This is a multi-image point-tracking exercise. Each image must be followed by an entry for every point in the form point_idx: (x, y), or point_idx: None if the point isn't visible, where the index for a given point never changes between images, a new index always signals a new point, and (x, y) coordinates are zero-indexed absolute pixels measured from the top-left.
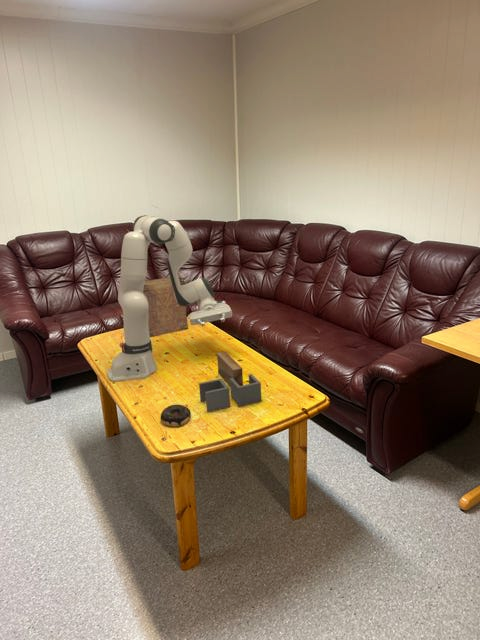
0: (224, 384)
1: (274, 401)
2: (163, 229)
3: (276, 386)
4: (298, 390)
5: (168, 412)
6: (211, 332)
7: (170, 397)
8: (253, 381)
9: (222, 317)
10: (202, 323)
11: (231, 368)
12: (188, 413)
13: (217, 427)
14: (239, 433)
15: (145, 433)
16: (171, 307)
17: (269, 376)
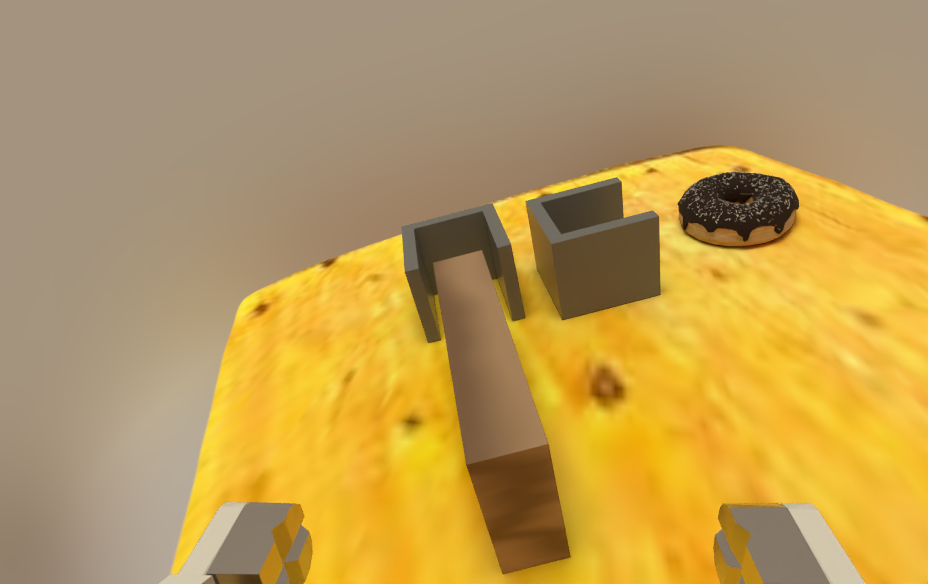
0: (540, 214)
1: (382, 290)
2: None
3: (317, 368)
4: (266, 339)
5: (763, 187)
6: None
7: (837, 322)
8: (418, 253)
9: (220, 552)
10: (764, 505)
11: (485, 261)
12: (683, 195)
13: None
14: (529, 195)
15: (818, 176)
16: None
17: (286, 455)
